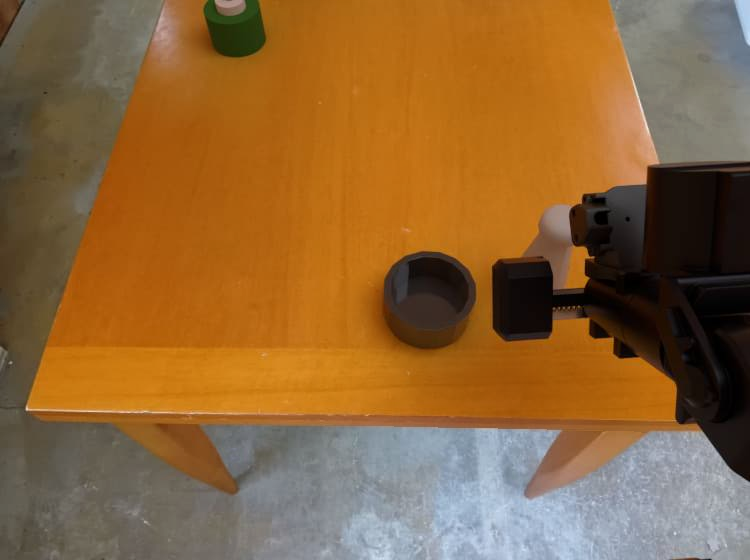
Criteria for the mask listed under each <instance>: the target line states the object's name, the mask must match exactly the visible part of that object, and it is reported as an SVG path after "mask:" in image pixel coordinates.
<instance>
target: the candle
mask: <svg viewBox="0 0 750 560" xmlns="http://www.w3.org/2000/svg"><path fill="white" fill-rule="evenodd" d="M261 9H262V8H261V4H260V1H259V0H207V1H206V2H205V4H204V5H203V9H202V11H203V16H204V19H205V24H206V27H207V30H208V33H209V37H210V41H211V44H212V47H213V49H214V50H215V51H216V52H217V53H218V54H220V55H222V56H225V57H229V58H243V57H248V56H250V55H254V54H255V53H257V52H258V51H260V50H261V49H262V48H263V47H264V45H266V40H267V36H266V30H265V25H264V20H263V16H262V10H261Z"/></svg>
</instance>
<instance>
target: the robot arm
mask: <svg viewBox="0 0 750 560" xmlns="http://www.w3.org/2000/svg"><path fill="white" fill-rule="evenodd" d="M645 182H646V183H644V184H628V185H627V184H626V185H615V186H612V187H611V188H609V189H608V190H606V191H604V192H589V193H583V194H582V196H581V203H576V204H575V205H572V208H571V209H570V212H569V221H570V230H571V239H572V243H573V247H575V248H582V247H583V248H585V249H586V250H587V251H586V252H587V255H588V257H589V258H584V276H585V277H586V278H588V279H587V281H586V283H585V286H584V287H572V288H564V289H555V290H553V272H552V269H551V265H550V262H549V260H547V259H545V258H543V256H537V257H522V258H521V257H510V258H499V259H498V260H496V262H494V264H493V265H492V266H491V289H492V290H491V301H492V302H491V303H492V304H491V305H492V307H491V308H492V309H491V310H492V311H491V312H492V313H491V315H492V330H493V331H494V332H495V333H496V334H497V336H498V337H500V338H501V340H502V341H504V342H505V343H508V342H521V341H537V340H549V338H550V337H551V335H552V333H553V330H554V329H553V328H554V327H553V323H554V321H566V320H579V319H580V320H582V319H589V321H588V335H589V336H590V337H591V338H593V339H594V340H601V339H613V343H612V344H613V346H612V354H613V355H614V356H615V357H617V358H618V359H619V360H622V359H635V358H636V359H637V358H640V359H642V360H643V361H645V362H646V363H647V364H649V365H650V366H651V367H653V368H654V369H655V370H657V371H658V372H660V373H661V374H663V376H665V377H667V378H668V379H669V380H671V381H673V383H674V385H675V387H676V395H675V408H674V410H675V411H674V419H675V421H676V423H677V424H678V425H681V426H684V425H697V426H698V427H699V429H700V430H701V431H702V433H703V434H704V435H705V437H706V438H707V440H708V442H710V444H711V445H712V446H713V448H714V449H715V451H716V452H717V454H718V455H719V456H720V458H721V459H722V460H723V462H724V463H725V464H726V466H727V467H728V468H729V469H730V470H731V471H732V472H733V473H735V474H736V475H738V476H739V477H741V478H742V479H744V480H745V481H747V482H748V483H750V160H706V161H683V162H681V161H680V162H665V163H656V164H649V165H647V166H646V181H645ZM669 560H713V559H712V558H710V557H709V558H699V557H696V556H695V557H683V558H671V559H669Z"/></svg>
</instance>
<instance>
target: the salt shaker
mask: <svg viewBox="0 0 750 560" xmlns="http://www.w3.org/2000/svg"><path fill="white" fill-rule="evenodd" d="M572 207H573V205H569V204H564V203H558V204H553V205H550V206H549V207H547V208H546V209H545V210H544V211H543V212H541V216H540V218H539V220H538V224H537V227H538V233H537V234H536V236H535V238H534V239H533V240H532V241H531V243H530V244H529V245H528V247H527V248H526V249H525V251H524V252H523V253H522V254H521V256H520V258H522V257H537V256H543V258H545V259H547V260H549V262H550V265H551V269H552V272H553V290H555V289H566V288H565V287H566V285H567V282H568V278H569V277H568V276H569V271H570V265H571V259H572V253H573V249H574V245H573V243H572V239H571V230H570V221H569V212H570V209H571V208H572Z"/></svg>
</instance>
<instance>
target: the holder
mask: <svg viewBox="0 0 750 560" xmlns="http://www.w3.org/2000/svg"><path fill="white" fill-rule="evenodd" d="M382 291H383V293H382V298H383V299H382V313H383V317H384V320H385V323H386V326H387V327H388V329H389V330H390V332H391V333H392V334H393V335H394V336H395V337H396V338H397V339H398V340H399V341H401V342H403V344H405V345H408V346H411V347H413V348H416V349H422V350H435V349H441V348H444V347H447V346H450V345H452V344H453V343H455V342H456V341H457V340H458V339H460V338H461V337H462V336H463V334H464V333H465V331H466V330H467V328H468V326H469V323H470V321H471V319H472V316H473V312H474V309H475V306H476V302H477V283H476V282H475V279H474V277H473V275H472V274H471V271H470V269H469V268H468V267H467V266H466V265H464V264H463V263H462V262H461V261H460V260H459V259H457V258H456V257H454V256H452V255H449V254H446V253H444V252H441V251H430V250H429V251H428V250H422V251H421V250H420V251H417V252H414V253H413V252H412V253H410V254H406V255H404V256H403V257H401V258H400V259H399V260H397V261H396V262H394V264H392V265H391V267H390V268H389V270H388V271H387V273H386V275H385V277H384V280H383V290H382Z"/></svg>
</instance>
